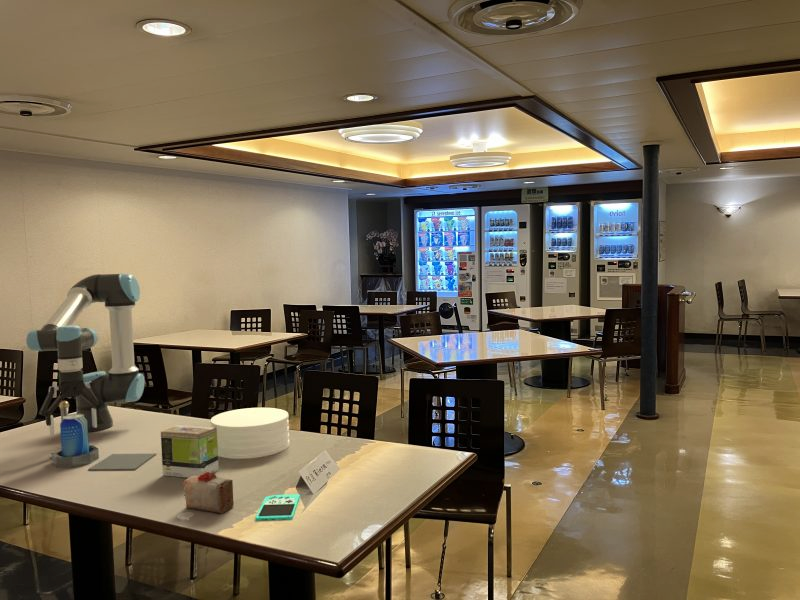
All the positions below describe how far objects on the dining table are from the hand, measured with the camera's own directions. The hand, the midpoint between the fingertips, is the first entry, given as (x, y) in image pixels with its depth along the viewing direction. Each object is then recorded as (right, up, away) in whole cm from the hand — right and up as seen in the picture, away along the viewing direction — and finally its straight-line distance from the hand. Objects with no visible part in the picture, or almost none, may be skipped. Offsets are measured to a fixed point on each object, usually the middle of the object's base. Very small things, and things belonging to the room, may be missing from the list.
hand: (73, 430), depth 214 cm
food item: (+61, -13, -43) cm, 75 cm away
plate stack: (+59, -9, +14) cm, 61 cm away
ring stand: (-2, -11, +3) cm, 11 cm away
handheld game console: (+80, -13, -44) cm, 93 cm away
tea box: (+46, -11, -14) cm, 49 cm away
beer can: (0, -11, +1) cm, 11 cm away
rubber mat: (+18, -11, -2) cm, 21 cm away
